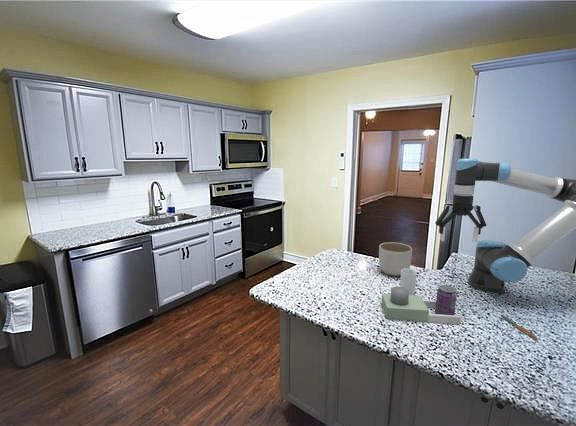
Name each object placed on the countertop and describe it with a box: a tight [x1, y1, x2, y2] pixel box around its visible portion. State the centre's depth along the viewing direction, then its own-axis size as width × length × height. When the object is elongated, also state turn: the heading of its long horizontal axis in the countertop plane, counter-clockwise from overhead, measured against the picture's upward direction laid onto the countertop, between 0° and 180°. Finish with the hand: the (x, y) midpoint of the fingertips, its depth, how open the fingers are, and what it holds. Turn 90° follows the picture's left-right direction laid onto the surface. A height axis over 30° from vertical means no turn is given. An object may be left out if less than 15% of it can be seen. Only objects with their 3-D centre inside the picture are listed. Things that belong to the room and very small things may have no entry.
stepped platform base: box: [381, 285, 462, 325], centre depth 120 cm, size 28×12×10 cm, turn 81°
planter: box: [378, 241, 413, 277], centre depth 159 cm, size 17×17×15 cm
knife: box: [501, 314, 538, 342], centre depth 110 cm, size 17×1×3 cm
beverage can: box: [434, 284, 458, 315], centre depth 118 cm, size 7×7×12 cm
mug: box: [399, 268, 418, 295], centre depth 136 cm, size 10×7×12 cm, turn 172°
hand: (458, 241), depth 129 cm, fingers open, 13 cm apart
